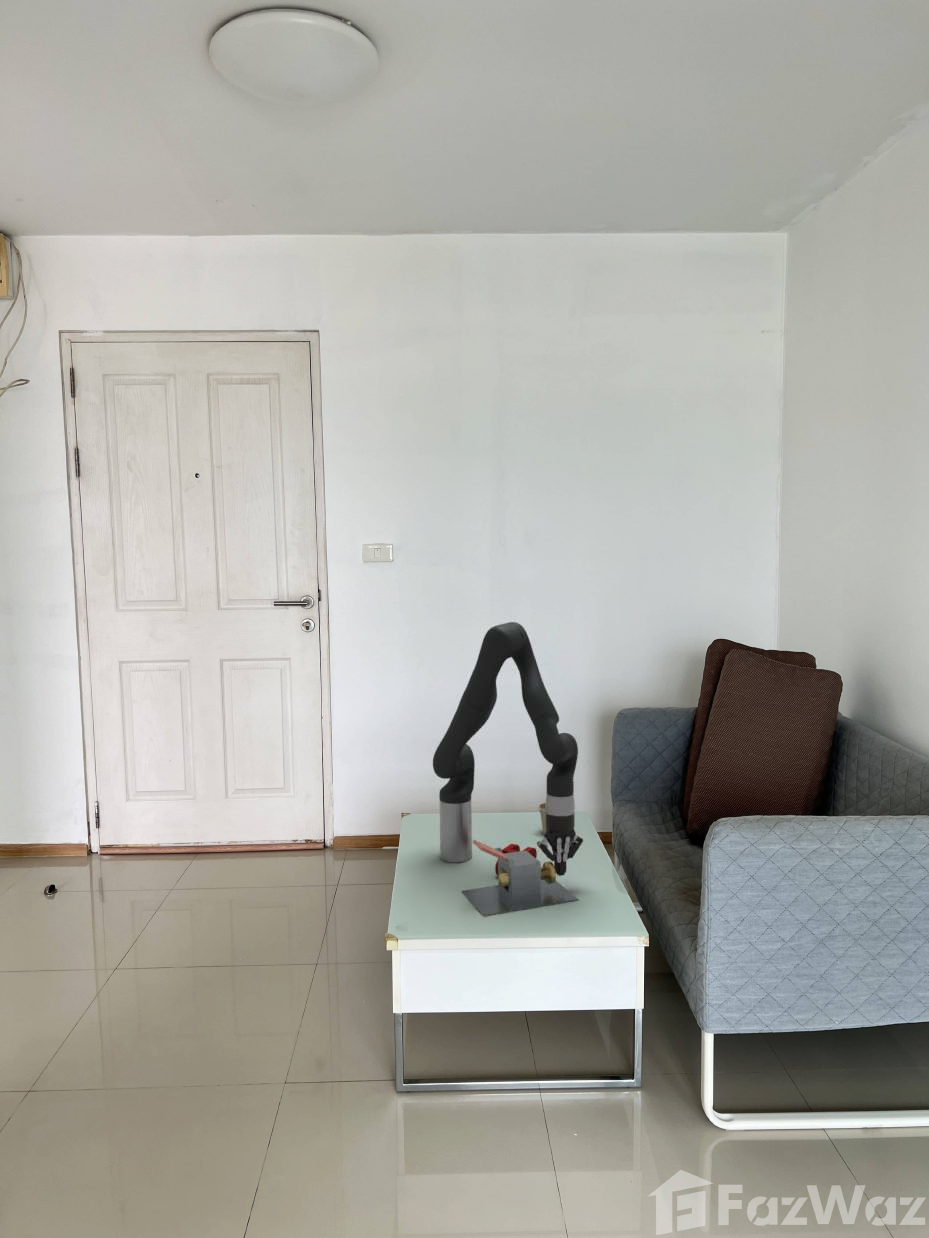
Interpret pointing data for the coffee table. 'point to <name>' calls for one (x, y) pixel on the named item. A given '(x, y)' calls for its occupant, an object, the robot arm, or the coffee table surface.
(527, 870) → the latch base plate
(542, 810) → the flower pot
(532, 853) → the mechanical linkage
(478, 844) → the latch flap
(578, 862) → the coffee table surface
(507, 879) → the brass pin
